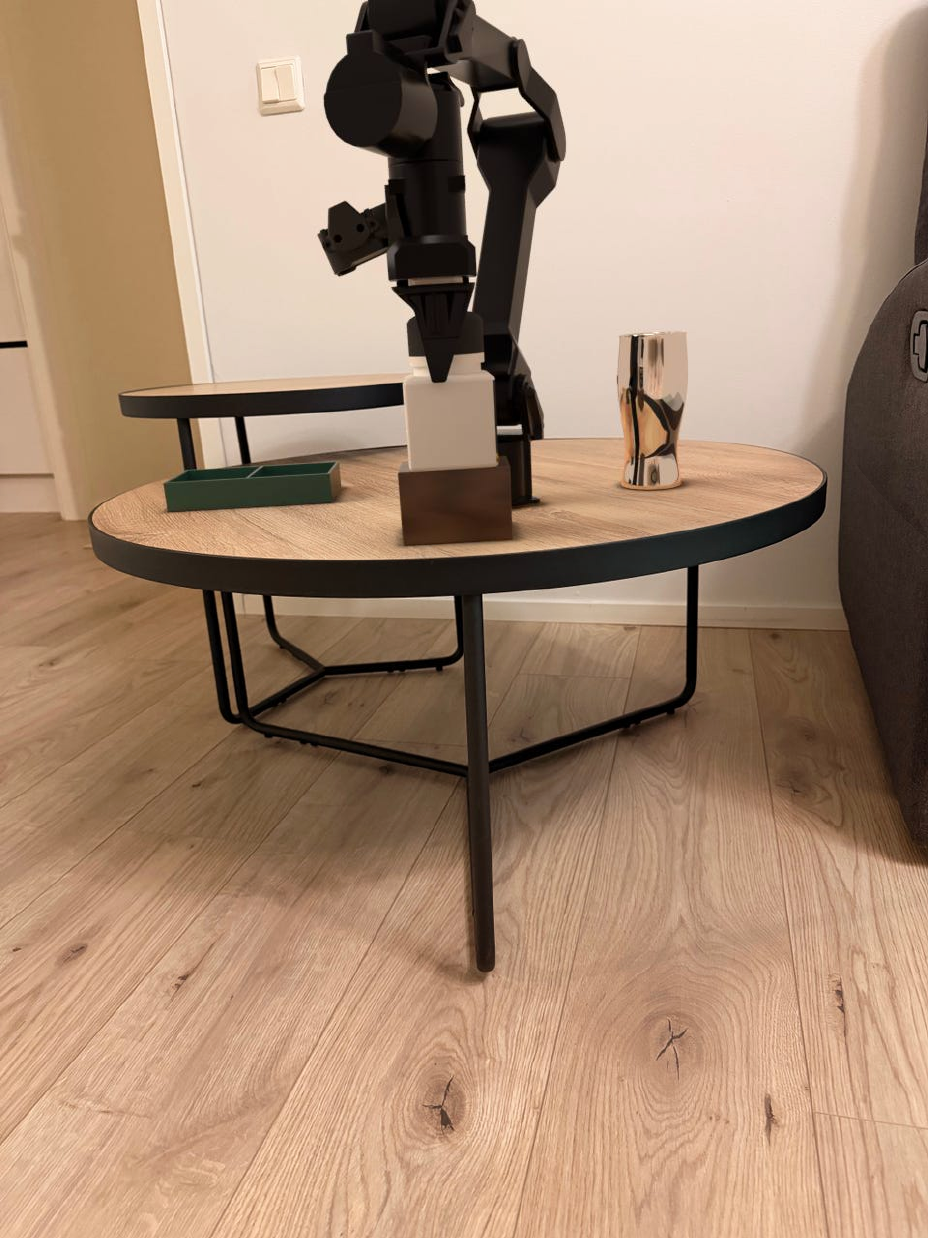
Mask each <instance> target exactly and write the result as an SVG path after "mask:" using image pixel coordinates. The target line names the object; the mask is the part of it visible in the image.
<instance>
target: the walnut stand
mask: <svg viewBox="0 0 928 1238" xmlns="http://www.w3.org/2000/svg"><path fill="white" fill-rule="evenodd" d="M397 481H398V482H397V483H398V493H399V494H398V495H399V507H400V519H401V533H402V544H403V546H416V545H432V544H435V545H437V544H452V543H469V542H486V541H490V542H491V541H504V540H505V541H507V540H513V539H514V533H513V510H512V509H513V507H512V505H511V479H510V466H509V463H508V460H507V458H506V456H498V465H497V466H496V467H488V468H472V469H456V470H440V471H424V472H412V471H410V469H409V461H408V460H407V461H401V464H400V466H399V469H398V471H397Z"/></svg>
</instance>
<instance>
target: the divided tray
mask: <svg viewBox="0 0 928 1238" xmlns="http://www.w3.org/2000/svg"><path fill="white" fill-rule="evenodd" d="M341 489H342V479H341V467H340V461H323V462H319V461H318V462H305V463H288V464H287V463H286V464H270V465H251V466H237V467H217V468H216V467H215V468H200V469H185V470H184V471H182V472H180V473H178V474H176V475H175V476H173V477H172V478H170V479H168V480H166V481H164V482H163V490H164V497H165V503H166V509H167V510H166V511H167V512H168V513H171V512H187V511H206V510H221V509H239V508H241V509H242V508H259V507H273V506H294V505H308V504H327V503H333V502H334V500H335V499H336V498H337V496H338V495H339V493H340V491H341Z"/></svg>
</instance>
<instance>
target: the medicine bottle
mask: <svg viewBox="0 0 928 1238" xmlns="http://www.w3.org/2000/svg"><path fill="white" fill-rule="evenodd" d="M406 338H407V339H406V340H407V348H408V349H407V351H408V352H407V353H408V364H409V367H413V368H412V369H413V373H411V374H407V375H405V376H404V380H403V382H402V390H403V391H402V392H403V393H402V394H403V407H404V419H405V420H404V421H405V431H406V445H407V458H408V460H407V461H409V469H410V471H412V472H424V471H440V470H456V469H472V468H488V467H496V466H497V465H498V441H497V429H498V426H497V418H496V395H495V379H494V377H493V376H492V375H491V374H490V373H489V372H487V371H485V370H481V362H484V343H483V321H482V318H481V317H480V316H479V315H477V314H475V313H473V312H472V310H467V314H466V317H465V320H464V324H463V327H462V330H461V334H460V337H459V340H458V343H457V347H456V350H455V353H454V357H453V360H452V364H451V367H450V370H449V374H448V377H447V380H446V382H444V383H433V382H432V381H431V377H430V373H429V369H428V365H427V361H426V357H425V353H424V349H423V345H422V341H421V337H420V333H419V329H418V325H417V321H416V317H415V315H414V316H412V317H410V318H409V319H408V321H406Z"/></svg>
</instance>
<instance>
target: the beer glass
mask: <svg viewBox="0 0 928 1238" xmlns="http://www.w3.org/2000/svg"><path fill="white" fill-rule="evenodd" d="M688 358H689V357H688V343H687V331H685V330H684V331H683V330H681V331H680V330H677V331H676V330H675V331H673V330H672V331H654V332H653V331H652V332H634V333H624V334H623V333H622V334H619V335H618V347H617V358H616V359H617V360H616V394H617V403H618V409H619V416H620V421H621V427H622V434H623V440H624V462H623V468H622V469H623V470H622V474H621V481H620V484H621V486H622V487H623V488H625V489H631V490H637V491H639V490H640V491H641V490H642V491H657V490H666V489H674V488H677V487H679V486H681V484H682V476H681V470H680V463H679V451H678V450H679V439H680V433H681V427H682V421H683V416H684V411H685V406H686V399H687V393H688V380H689V378H688V377H689V359H688Z"/></svg>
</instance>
